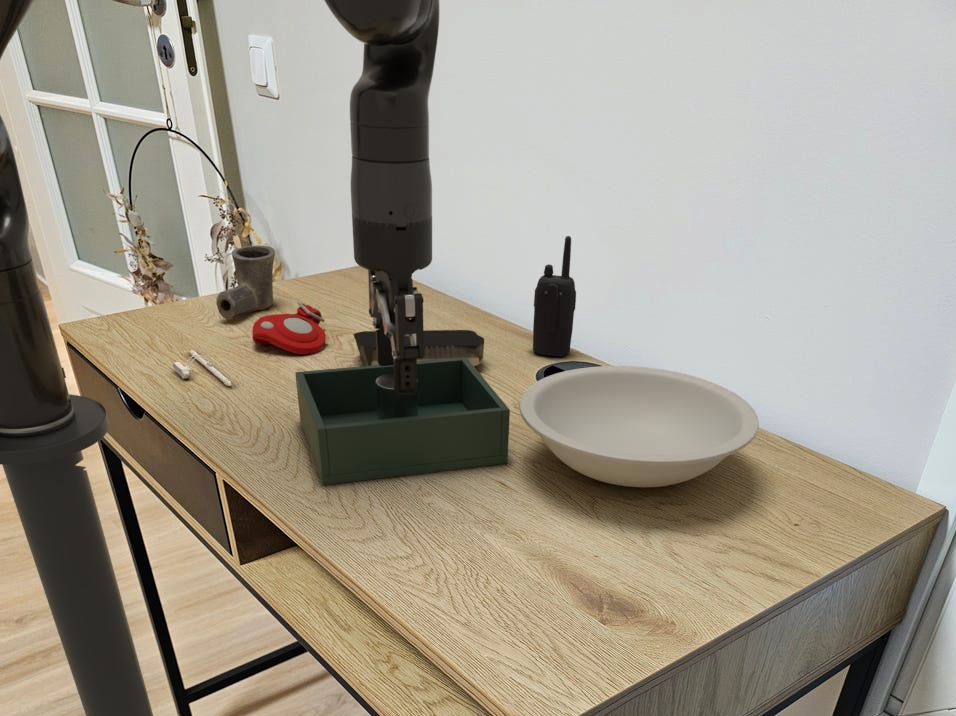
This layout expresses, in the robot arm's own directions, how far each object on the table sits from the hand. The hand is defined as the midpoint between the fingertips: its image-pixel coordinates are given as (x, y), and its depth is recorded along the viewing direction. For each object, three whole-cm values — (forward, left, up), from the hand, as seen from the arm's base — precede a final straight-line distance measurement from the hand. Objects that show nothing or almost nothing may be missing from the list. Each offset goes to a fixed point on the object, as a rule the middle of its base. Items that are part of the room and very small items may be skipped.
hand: (396, 379), depth 92 cm
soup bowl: (+22, -12, -7) cm, 26 cm away
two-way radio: (+26, +22, -7) cm, 35 cm away
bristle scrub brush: (+8, +23, -7) cm, 26 cm away
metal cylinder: (0, 0, -6) cm, 6 cm away
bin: (0, 0, -7) cm, 7 cm away
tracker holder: (-6, +35, -7) cm, 36 cm away
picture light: (-20, +27, -7) cm, 34 cm away
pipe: (-11, +50, -7) cm, 52 cm away
